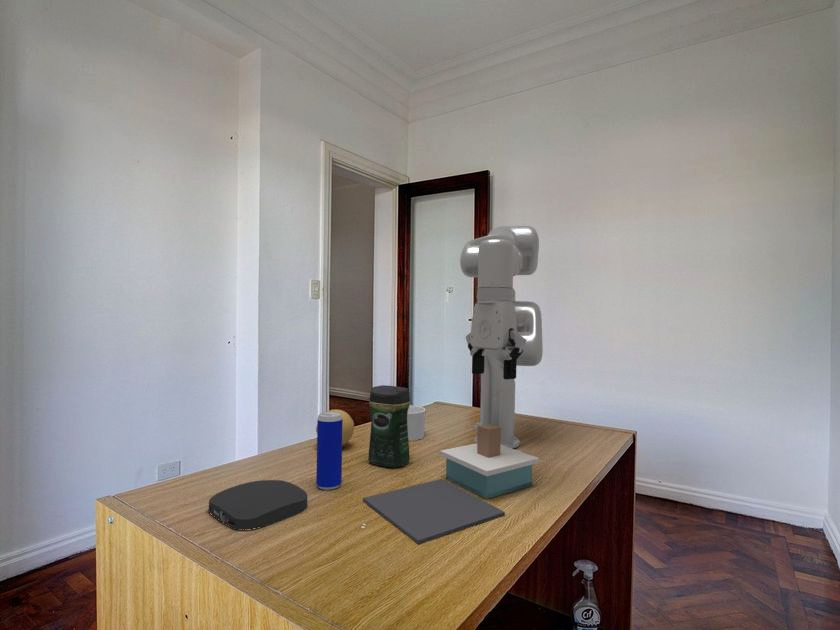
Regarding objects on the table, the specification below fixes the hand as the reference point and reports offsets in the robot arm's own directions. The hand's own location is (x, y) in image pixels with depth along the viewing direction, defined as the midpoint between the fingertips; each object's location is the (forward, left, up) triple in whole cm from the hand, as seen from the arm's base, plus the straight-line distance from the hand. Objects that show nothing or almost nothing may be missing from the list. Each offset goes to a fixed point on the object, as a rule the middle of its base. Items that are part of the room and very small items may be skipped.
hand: (493, 376), depth 97 cm
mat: (+4, -18, -23) cm, 30 cm away
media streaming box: (-13, -45, -24) cm, 53 cm away
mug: (-40, +5, -23) cm, 47 cm away
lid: (0, 0, -18) cm, 18 cm away
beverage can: (-16, -30, -23) cm, 42 cm away
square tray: (0, 0, -23) cm, 23 cm away
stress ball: (-40, -18, -23) cm, 50 cm away
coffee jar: (-22, -12, -23) cm, 35 cm away
